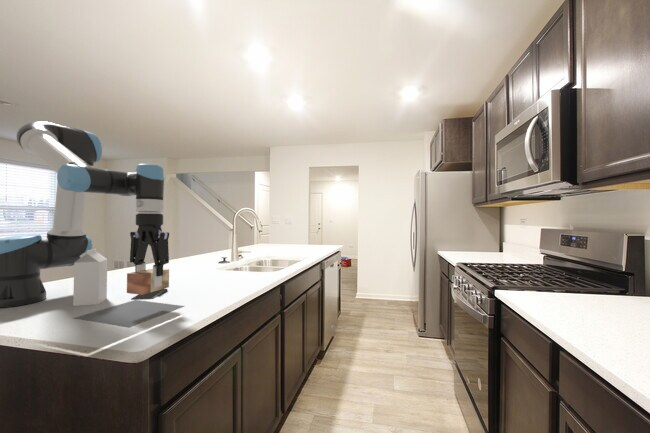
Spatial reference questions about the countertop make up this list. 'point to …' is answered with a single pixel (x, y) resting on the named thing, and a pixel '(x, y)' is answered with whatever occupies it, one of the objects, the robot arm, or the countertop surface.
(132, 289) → the terracotta wooden block
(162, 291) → the phone
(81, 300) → the milk carton
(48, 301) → the countertop surface
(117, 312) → the mat
